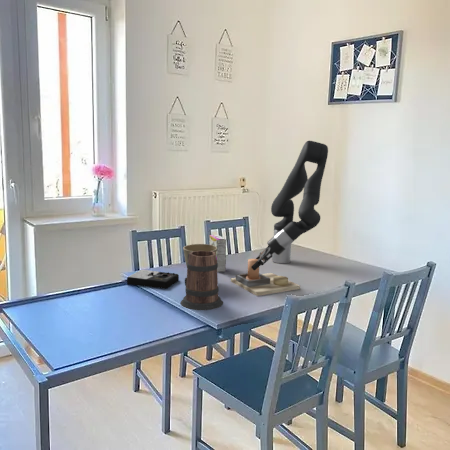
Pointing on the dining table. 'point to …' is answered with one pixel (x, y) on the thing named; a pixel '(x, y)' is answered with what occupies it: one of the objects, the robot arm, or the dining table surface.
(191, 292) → the tankard
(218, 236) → the candy bar box
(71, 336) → the dining table surface
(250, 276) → the orange flanged cylinder
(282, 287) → the carrier plate
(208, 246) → the plant pot
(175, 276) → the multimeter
